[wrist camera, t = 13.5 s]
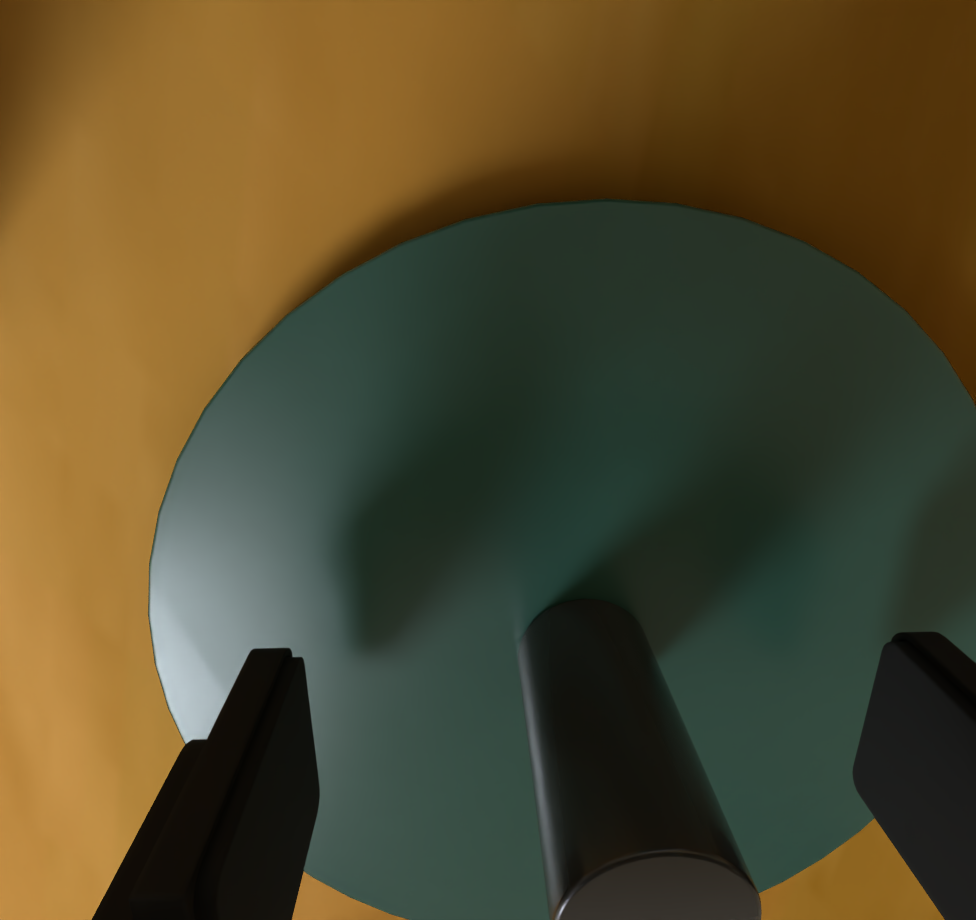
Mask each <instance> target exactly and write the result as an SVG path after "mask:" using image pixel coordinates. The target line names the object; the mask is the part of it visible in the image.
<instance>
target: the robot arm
mask: <svg viewBox="0 0 976 920" xmlns="http://www.w3.org/2000/svg"><path fill="white" fill-rule="evenodd" d="M852 774H853V781H854V785H855V788H856V790H857V792H858V794H859V795H860V797H861V798H862V800H863V801H864V803H865V804H866V806H867V807H868V809H869V810H870V812H871V813H872V814H873V816H874V817H875V819H876V820H877V822H878V823H879V825H880V826H881V827H882V829H883V830H884V832H885V833H886V835H887V836H888V838H889V839H890V841H891V842H892V843H893V845H894V846H895V848H896V849H897V851H898V852H899V854H900V855H901V856H902V858H903V859H904V861H905V862H906V864H907V865H908V867H909V868H910V870H911V871H912V872H913V874H914V875H915V877H916V878H917V880H918V881H919V883H920V884H921V885H922V887H923V888H924V890H925V891H926V893H927V894H928V896H929V897H930V899H931V900H932V901H933V903H934V904H935V906H936V907H937V909H938V910H939V912H940V913H941V915H942V916H943V917H944V919H945V920H976V663H975V662H974V661H973V660H972V659H970V658H969V657H968V656H967V655H966V654H965V653H963V652H962V651H961V650H960V649H959V648H958V647H956V646H955V645H954V644H953V643H952V642H951V641H950V640H948V639H947V638H946V637H945V636H943V635H942V634H940V633H938V632H933V631H930V632H900V633H897V634H895V635H894V636H893V637H892V640H891V642H887V643H886V644H885V645H884V646H883V649H882V652H881V656H880V660H879V664H878V668H877V672H876V676H875V680H874V684H873V688H872V692H871V696H870V700H869V704H868V708H867V712H866V716H865V721H864V725H863V729H862V733H861V737H860V741H859V745H858V749H857V753H856V757H855V761H854V765H853V771H852ZM319 799H320V786H319V777H318V769H317V761H316V752H315V744H314V736H313V728H312V720H311V711H310V703H309V695H308V687H307V678H306V670H305V663H304V659H303V658H302V657H293V655H292V651H291V649H290V648H257V649H252V650H251V651H250V653H249V654H248V656H247V658H246V660H245V662H244V664H243V666H242V669H241V671H240V673H239V675H238V677H237V679H236V681H235V683H234V685H233V687H232V689H231V691H230V693H229V695H228V697H227V699H226V701H225V703H224V705H223V707H222V709H221V711H220V713H219V715H218V717H217V719H216V721H215V723H214V725H213V727H212V729H211V732H210V734H209V736H208V738H207V739H192V740H191V741H189V742H188V743H186V745H185V746H184V748H183V749H182V751H181V752H180V754H179V756H178V758H177V760H176V761H175V763H174V765H173V767H172V769H171V771H170V773H169V775H168V777H167V778H166V780H165V782H164V784H163V786H162V788H161V790H160V792H159V794H158V795H157V797H156V799H155V801H154V803H153V805H152V807H151V809H150V811H149V812H148V814H147V816H146V818H145V820H144V822H143V824H142V826H141V828H140V829H139V831H138V833H137V835H136V837H135V839H134V841H133V843H132V845H131V846H130V848H129V850H128V852H127V854H126V856H125V858H124V860H123V862H122V863H121V865H120V867H119V869H118V871H117V873H116V875H115V877H114V879H113V880H112V882H111V884H110V886H109V888H108V890H107V892H106V894H105V896H104V897H103V899H102V901H101V903H100V905H99V907H98V909H97V911H96V913H95V914H94V916H93V918H92V920H292V916H293V912H294V908H295V904H296V899H297V895H298V891H299V887H300V883H301V879H302V875H303V871H304V867H305V863H306V858H307V854H308V850H309V846H310V842H311V838H312V834H313V830H314V826H315V822H316V817H317V813H318V808H319Z"/></svg>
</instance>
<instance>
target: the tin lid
mask: <svg viewBox="0 0 976 920" xmlns="http://www.w3.org/2000/svg"><path fill="white" fill-rule="evenodd" d="M148 617H149V624H150V631H151V639H152V646H153V653H154V661H155V665H156V669H157V672H158V675H159V679H160V682H161V685H162V689H163V692H164V695H165V699H166V702H167V706H168V709H169V711H170V713H171V715H172V717H173V719H174V721H175V724H176V726H177V728H178V730H179V732H180V734H181V736H182V739H183V741H184V743H185V745H186V743H188V742H189V741H191V740H192V739H207V738H208V736H209V734H210V732H211V729H212V727H213V725H214V723H215V721H216V719H217V717H218V715H219V713H220V711H221V709H222V707H223V705H224V703H225V701H226V699H227V697H228V695H229V693H230V691H231V689H232V687H233V685H234V683H235V681H236V679H237V677H238V675H239V673H240V671H241V669H242V666H243V664H244V662H245V660H246V658H247V656H248V654H249V653H250V651H251V650H252V649H257V648H290V649H291V651H292V655H293V657H302V658H303V659H304V663H305V670H306V678H307V687H308V695H309V703H310V711H311V720H312V728H313V736H314V744H315V752H316V761H317V769H318V777H319V786H320V799H319V808H318V813H317V817H316V822H315V826H314V830H313V834H312V838H311V842H310V846H309V850H308V854H307V858H306V863H305V867H304V872H306V873H307V874H309V875H310V876H312V877H313V878H315V879H317V880H319V881H321V882H323V883H324V884H326V885H328V886H330V887H332V888H334V889H335V890H337V891H339V892H341V893H343V894H345V895H347V896H348V897H350V898H353V899H355V900H358V901H360V902H362V903H365V904H367V905H370V906H372V907H375V908H377V909H379V910H382V911H384V912H387V913H389V914H392V915H395V916H399V917H402V918H405V919H409V920H761V901H760V897H759V893H760V892H762V891H764V890H767V889H769V888H771V887H773V886H775V885H777V884H779V883H781V882H783V881H785V880H787V879H789V878H790V877H792V876H794V875H795V874H797V873H799V872H800V871H802V870H804V869H805V868H807V867H809V866H811V865H812V864H814V863H816V862H817V861H819V860H821V859H822V858H824V857H825V856H827V855H828V854H829V853H831V852H832V851H833V850H835V849H836V848H837V847H839V846H840V845H842V844H843V843H844V842H846V841H847V840H848V839H850V838H851V837H853V836H854V835H855V834H857V833H858V832H859V831H861V830H862V829H863V828H864V827H865V826H866V825H867V824H868V823H870V822H871V821H872V820H873V819H874V818H875V817H874V816H873V814H872V813H871V812H870V810H869V809H868V807H867V806H866V804H865V803H864V801H863V800H862V798H861V797H860V795H859V794H858V792H857V790H856V788H855V785H854V781H853V774H852V771H853V765H854V761H855V757H856V753H857V749H858V745H859V741H860V737H861V733H862V729H863V725H864V721H865V716H866V712H867V708H868V704H869V700H870V696H871V692H872V688H873V684H874V680H875V676H876V672H877V668H878V664H879V660H880V656H881V652H882V649H883V646H884V645H885V644H886V643H887V642H891V640H892V637H893V636H894V635H895V634H897V633H900V632H930V631H933V632H938V633H940V634H942V635H943V636H945V637H946V638H947V639H948V640H950V641H951V642H952V643H953V644H954V645H955V646H956V647H958V648H959V649H960V650H961V651H962V652H963V653H965V654H966V655H967V656H968V657H969V658H970V659H972V660H973V661H974V662H975V663H976V406H975V404H974V402H973V399H972V398H971V396H970V395H969V393H968V391H967V390H966V388H965V387H964V385H963V383H962V382H961V380H960V379H959V377H958V375H957V374H956V372H955V371H954V369H953V367H952V366H951V364H950V363H949V361H948V360H947V358H946V356H945V355H944V353H943V352H942V351H941V350H940V348H939V347H938V346H937V345H936V344H935V343H934V342H933V341H932V339H931V338H930V337H929V336H928V335H927V334H926V333H925V332H924V331H923V329H922V328H921V327H920V326H919V325H918V324H917V323H916V322H915V320H914V319H913V318H912V317H911V316H910V315H909V314H908V313H907V311H906V310H905V309H904V308H902V307H901V306H900V305H899V304H897V303H896V302H895V301H894V300H892V299H891V298H890V297H889V296H887V295H886V294H885V293H884V292H882V291H881V290H880V289H879V288H877V287H876V286H875V285H874V284H873V283H871V282H870V281H869V280H868V279H866V278H865V277H864V276H863V275H861V274H860V273H859V272H857V271H856V270H854V269H852V268H850V267H849V266H847V265H845V264H843V263H842V262H840V261H838V260H836V259H835V258H833V257H831V256H829V255H828V254H826V253H824V252H822V251H821V250H819V249H817V248H815V247H814V246H812V245H810V244H808V243H807V242H805V241H803V240H800V239H798V238H795V237H792V236H790V235H787V234H784V233H782V232H779V231H777V230H774V229H771V228H769V227H766V226H763V225H761V224H758V223H756V222H753V221H750V220H748V219H745V218H742V217H738V216H733V215H729V214H724V213H719V212H715V211H710V210H705V209H701V208H696V207H692V206H687V205H682V204H678V203H667V202H652V201H638V200H623V199H609V198H605V199H591V200H578V201H564V202H550V203H537V204H532V205H527V206H522V207H518V208H513V209H509V210H504V211H499V212H495V213H490V214H486V215H481V216H476V217H472V218H467V219H464V220H462V221H459V222H456V223H453V224H451V225H448V226H445V227H442V228H440V229H437V230H434V231H432V232H429V233H426V234H423V235H421V236H418V237H415V238H413V239H410V240H407V241H404V242H402V243H400V244H398V245H396V246H394V247H392V248H390V249H388V250H386V251H385V252H383V253H381V254H379V255H377V256H375V257H373V258H372V259H370V260H368V261H366V262H364V263H362V264H360V265H358V266H357V267H355V268H353V269H351V270H349V271H347V272H345V273H344V274H342V275H340V276H339V277H337V278H336V279H334V280H333V281H332V282H330V283H329V284H328V285H326V286H325V287H324V288H322V289H321V290H320V291H318V292H317V293H315V294H314V295H313V296H311V297H310V298H309V299H307V300H306V301H305V302H303V303H302V304H300V305H299V306H298V307H296V308H295V309H294V310H292V311H291V312H290V313H288V314H287V315H286V316H285V317H284V318H283V319H282V320H281V321H280V322H279V323H278V324H277V325H276V326H275V327H274V328H273V329H272V330H271V331H270V332H269V333H268V334H266V335H265V336H264V337H263V338H262V339H261V340H260V341H259V342H258V343H257V344H256V345H255V346H254V347H253V348H252V349H251V350H250V351H249V352H248V353H247V354H246V355H245V356H244V357H243V358H242V359H241V360H240V362H239V363H238V364H237V366H236V367H235V368H234V370H233V371H232V372H231V374H230V375H229V376H228V378H227V379H226V380H225V382H224V383H223V384H222V386H221V387H220V388H219V390H218V391H217V392H216V394H215V395H214V396H213V398H212V399H211V400H210V402H209V403H208V404H207V406H206V407H205V408H204V410H203V412H202V414H201V416H200V417H199V419H198V421H197V423H196V425H195V427H194V429H193V431H192V432H191V434H190V436H189V438H188V440H187V442H186V444H185V445H184V447H183V449H182V451H181V453H180V455H179V457H178V459H177V461H176V464H175V467H174V469H173V472H172V475H171V478H170V481H169V484H168V487H167V489H166V492H165V495H164V498H163V501H162V504H161V507H160V509H159V513H158V518H157V524H156V529H155V535H154V541H153V546H152V552H151V557H150V563H149V604H148Z"/></svg>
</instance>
